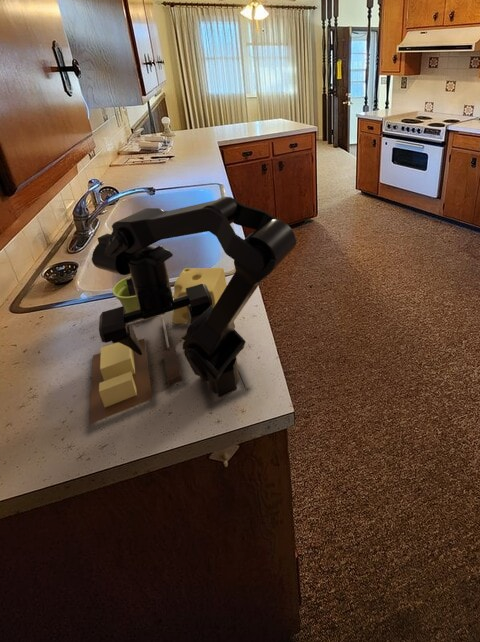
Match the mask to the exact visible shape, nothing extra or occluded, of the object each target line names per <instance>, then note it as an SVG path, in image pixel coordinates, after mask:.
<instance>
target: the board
mask: <svg viewBox="0 0 480 642" xmlns="http://www.w3.org/2000/svg"><path fill="white" fill-rule="evenodd" d="M138 341H139V343H140V346H141V350H142V355H139V354H137V353H136V352H135V351H133V353H134V364H135V374H133V375H132V376H133V379H134V382H135V386H136V394H137V395H136V396H133V397H131V398H128V399H125V400H123V401H120V402H118V403H115V404H113V405H110V406H108V407H104V404H103V401H102V398H101V396H100V393H99V383H101V382H104V379H103V376H102V373H101V370H100V357H101V352H99V353H96V354H93V355H92V370H91V371H92V372H91V386H90V404H89V420H88V423H89V425H91V424H94V423H97V422H99V421H102V420H104V419H106V418H109V417H111V416H113V415H116V414H118V413H121V412H124V411H127V410H129V409H131V408H134V407H137V406H139V405H141V404H143V403H146V402H149V401H151V400H152V399H153V396H152V388H151V387H152V386H151V380H150V371H149V370H150V369H149V363H148V353H147V347H146V338H141V339H138Z"/></svg>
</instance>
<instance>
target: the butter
mask: <svg viewBox="0 0 480 642" xmlns="http://www.w3.org/2000/svg"><path fill="white" fill-rule="evenodd" d="M100 353H101V357H100V370H101V373H102V376H103V379H104V381H106V380H109V379H112V378H115V377H117V376H120V375H123V374H126V373H128V372H131V373H132V375H133V374H135V364H134V353H133V350H132V349H131V348H129V347H127V346H125V345H123V344H121V343H119V342H118V343H111V344H108V345H105V346H102V347H100Z"/></svg>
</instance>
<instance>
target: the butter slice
mask: <svg viewBox="0 0 480 642" xmlns="http://www.w3.org/2000/svg"><path fill="white" fill-rule="evenodd" d="M99 393H100V396H101V398H102V401H103V404H104V407H108V406H110V405H113V404H115V403H118V402H120V401H123V400H125V399H128V398H131V397H133V396H136V395H137V394H136V386H135V382H134V379H133V376H132V373H131V372H128V373H126V374H123V375H120V376H117V377H115V378H112V379H109V380H106V381H104V382H101V383H99Z"/></svg>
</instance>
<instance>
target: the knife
mask: <svg viewBox="0 0 480 642" xmlns="http://www.w3.org/2000/svg"><path fill="white" fill-rule="evenodd" d="M160 318H161V323H162V328H163V329H162V330H163V334H164V339H165V344H166V348H167V349H166V350H163V351H162V357H163V362H164V369H165V374H166V379H167V385H168V386H171V385H173V384H176V383H178V382H181V381H183V375H182V371H181V367H180V362H179V358H178V354H177V350H176V347H175V346H174V347H171V346H170V342H169V338H168V333H167V327H166V323H165V318H164V316H161V317H160Z"/></svg>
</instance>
